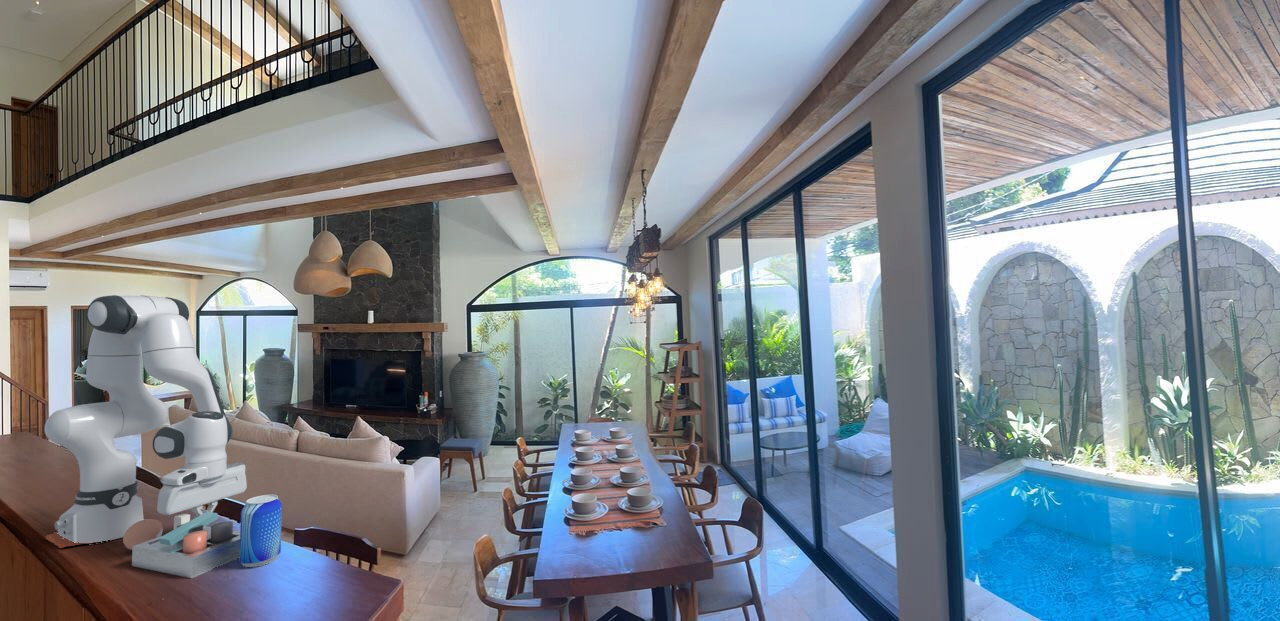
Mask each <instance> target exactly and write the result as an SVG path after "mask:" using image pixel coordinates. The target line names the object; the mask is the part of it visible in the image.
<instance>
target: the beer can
mask: <svg viewBox="0 0 1280 621" xmlns="http://www.w3.org/2000/svg"><path fill="white" fill-rule="evenodd" d="M282 512H283V504H282V502H281V500H279V497H278V495H277V494H263V495H262V494H261V495H258V496H254V497H251V498H248V499H247V500H246V501H245V505H244V506H243V507H242V509H241V511H240V529H239V530H240V558H239V559H238V560H239V563H240V564H241V565H242V567H244V566H245V567H244V568H247V567H253V568H257V566H259V567H263V566H265V564H266V565H269V564H270V562H271V563H273V562H274V561H275V560H277V558H278V556H279V555H280V554H281V551H282V548H281V547H282V515H283V514H282ZM278 540H279V541H278ZM272 561H273V562H272ZM268 563H269V564H268ZM262 565H263V566H262Z"/></svg>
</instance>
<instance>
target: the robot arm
mask: <svg viewBox="0 0 1280 621" xmlns="http://www.w3.org/2000/svg"><path fill="white" fill-rule="evenodd" d="M86 319H87V322H88V324H89V325H90V327H92V328H93V329H92V333H91V335H90V338H89V342H88V343H89V344H88V350H87V358H86V359H87V360H86V372H85V380H86V382H87V383H88V384H89V385H90V386H92V387H94V388H96V389H100V390H103V391H107V393H108V394H109V401H103V402H94V403H92V402H91V403H87V404H86V403H85V404H79V405H78V404H77V405H73V406H69V407H66V408H62V409H57V410H55V411H54V412H53V413H51V415H49V417H48V418H47V419H46V422H45V424H44V434H45V436H46V437H47V439H48V440H50V442H52V443H54V444H55V445H59V446H61V447H63V448H65V449H67V450H68V451H69V452H71V453H72V454H73V456H74V457H75V459H76V460H77V463H78V467H79V490H76V491H75V493H76V494H75V498H74V504H73V505H72V506H70V508H69V509H67V510H66V511H65V512H63V513H62V514H61V515H60V516H59V518H58V520H56V521H55V522H54V529H55V530H57V531H58V533H57V534H59V535H60V536H62V537H63V538H62V539H64V538H66V539H68V540H69V541H72V542H74V543H78V542H79V543H93V542H101V543H103V542H102V541H106V542H109V541H108V540H110V541H112V540H116V539H117V540H118V539H120V538H121V539H122V538H123V537H124V534H125V532H126V531H127V529H128V528H129V527H130V526H132V525H133V524H135V523H136V522H138V521H141V520H145V519H146V518H144V509H143V499H142V498H141V497H140V496H137V494H138V490H139V485H138V481H137V478H136V477H137V458H136V456H135V455H134V453H132V452H131V451H127V450H123V449H119V448H116V447H115V445H114V439H118V438H123V437H129V436H136V435H141V434H145V433H148V432H151V431H154V430H157V429H158V431H156V433H155V434H154V437H153V439H152V450H153V451H154V453H155V455H157V456H159V457H160V458H162V459H165V460H171V459H178V458H183V457H184V458H185V462H184V465H183V466H181V467H179V468H177V469H176V470H173V471H172V472H169V473H167V474H165V475H164V476H163V477H162V478H161V483H162V484H163V486H162V487H160V490H159V491H158V492H159V493H158V496H157V504H156V505H157V506H156V508H157V509H156V511H157V513H158V514H160V515H164V516H170V515H173V514H177V513H180V512H184V511H187V510H190V509H191V510H192V512H193V513H194V514H195V515H196V517H198V516H200V515H202V514H204V513H205V512H213V513H214V511H215V509H216V507H217V506H218V504H219V502H218V501H221V500H223V499H226V498H230V497H234V496H236V495H238V494H243V493H244V492H245V491H246V490H247V489H248V488H247V487H248V484H247V475H246V465H245V464H244V463H243V462H241V461H236V462H234V463H227V461H228V455H227V452H226V446H227V445H228V443H229V442H230V440H231V439H232V436H233V432H234V431H233V427H232V424H231V423H230V420H229V419H228V417H227V415H226V413H225V410H224V406H223V404H222V400H221V397H220V395H219V394H220V393H219V390H218V388H217V385H216V382H215V380H214V377H213V375H212V372H211V371H210V370H209V369H208V368H207V367H205V366H204V365H203V363H201V361H200V359H199V358H198V354H197V352H196V346H195V341H194V337H193V334H192V330H191V328H190V324H189V322H188V321H189V319H190V311H189V308H188V306H187V304H186V303H185V302H184V301H182V300H181V299H176V298H173V297H169V296H167V297H162V296H161V297H160V296H155V295H144V294H143V295H142V294H141V295H116V294H114V295H105V296H99V297H96V298H95V299H93V300H92V301H91V302H90V304H89V305H88V307H87V309H86ZM143 368H144V370H145V371H146V373H147V374H148V375H149V376H150V377H152V378H154V379H156V380H158V381H160V382H163V383H168V384H172V385H177V386H179V387H182V388H184V389H186V390H187V391H189V392H190V393H191V395H192V397H193V400H194V403H195V406H196V409H197V411H196V412H193V413H191V414H190V415H189V416H188V417H187V418H186V419H184V420H182V421H178V422H176V423H174V424H170V425H166V426H164V424H165V423H166V422H167V419H168V417H169V409H168V406H167V405H166V403H165V402H164V401H162V400H161V399H159V398H157V397H155V396H154V395H153V394H152V393H150V392H149V390H148V389H147V387H146V385H145V384H144V381H143ZM162 426H164V427H162ZM204 505H208V507H207V508H206V510H205V511H202V509H204V508H203V506H204ZM196 517H195V518H196Z"/></svg>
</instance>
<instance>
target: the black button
mask: <svg viewBox="0 0 1280 621" xmlns="http://www.w3.org/2000/svg"><path fill="white" fill-rule="evenodd" d="M210 527H211V539H210V543H214V544H219V543H221V542H224V541H227V540H229V539H232V537H233V528H234V522H233V521H222V522H218V523H216V524H213V525H211V526H210Z"/></svg>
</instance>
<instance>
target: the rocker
mask: <svg viewBox="0 0 1280 621" xmlns="http://www.w3.org/2000/svg"><path fill="white" fill-rule="evenodd" d="M204 512H205V513H204V514H202V515H200V516H198V517H195V518H193V519H190V521H189V522H187V523H185V524H184V525H182V526H180V527H178V528H176V529H174V528H173V530H171V531H169V532H168V533H166V534H164V535H161V536H162V537H160V538H159V541H160V544H165V545H170V546H171V545H173V544H175V543H177V542H178V541H180V540H182V539H183V537H184V536H185V535H186V534H189V533H190V530H191V528H193V527H196V526H199V525H203V527H205V526H209V525H210V524H212V523H213V522H215V521H217V520H218V519H220V518H219V515H218V512H214V511H213V512H206V511H204Z"/></svg>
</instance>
